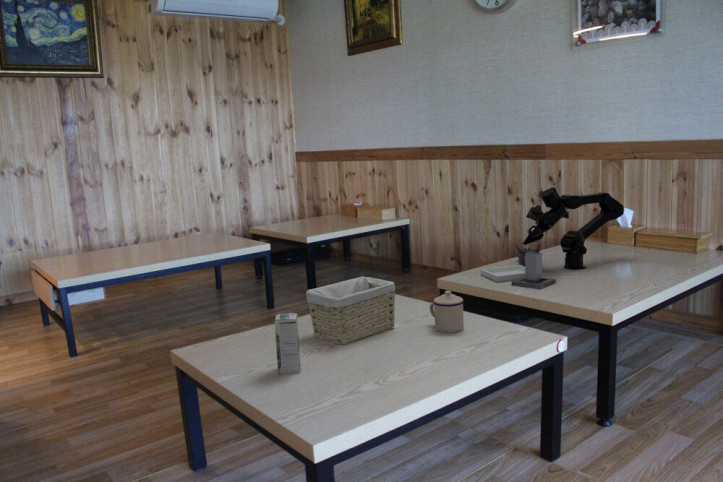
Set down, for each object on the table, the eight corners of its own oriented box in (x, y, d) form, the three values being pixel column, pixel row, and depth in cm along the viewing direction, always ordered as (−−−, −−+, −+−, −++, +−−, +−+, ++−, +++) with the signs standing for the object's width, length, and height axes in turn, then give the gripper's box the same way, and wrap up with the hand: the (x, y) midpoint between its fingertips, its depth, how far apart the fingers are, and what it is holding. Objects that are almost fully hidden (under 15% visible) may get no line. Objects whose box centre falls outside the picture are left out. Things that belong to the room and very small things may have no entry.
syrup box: (279, 367, 160) (274, 314, 157) (301, 365, 160) (297, 312, 158) (278, 375, 154) (273, 320, 152) (301, 373, 154) (296, 318, 152)
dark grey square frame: (527, 279, 239) (527, 275, 239) (556, 282, 231) (556, 278, 231) (511, 285, 231) (511, 281, 231) (540, 289, 223) (540, 285, 222)
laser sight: (534, 260, 275) (534, 238, 273) (543, 270, 253) (543, 247, 251) (512, 261, 276) (512, 239, 274) (519, 271, 254) (519, 248, 252)
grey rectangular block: (531, 282, 234) (531, 251, 232) (542, 283, 231) (541, 252, 229) (525, 284, 231) (525, 253, 229) (536, 285, 228) (535, 254, 226)
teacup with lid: (470, 327, 183) (469, 290, 181) (451, 335, 177) (449, 296, 175) (440, 320, 192) (439, 284, 190) (421, 327, 186) (419, 290, 184)
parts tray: (519, 270, 255) (519, 264, 255) (538, 277, 241) (538, 271, 240) (480, 275, 251) (480, 269, 250) (497, 282, 236) (497, 276, 236)
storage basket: (339, 348, 172) (336, 298, 169) (306, 336, 184) (303, 289, 182) (400, 328, 187) (397, 281, 185) (365, 318, 199) (363, 275, 197)
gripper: (531, 211, 257) (506, 234, 253) (545, 193, 239) (518, 218, 235) (550, 229, 254) (525, 253, 251) (566, 213, 237) (539, 238, 233)
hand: (526, 240), depth 243 cm, fingers open, 9 cm apart
